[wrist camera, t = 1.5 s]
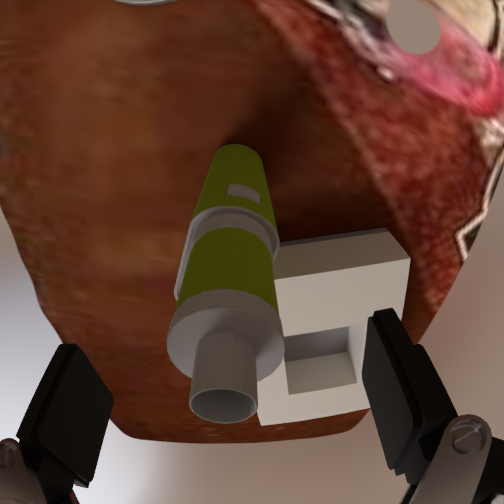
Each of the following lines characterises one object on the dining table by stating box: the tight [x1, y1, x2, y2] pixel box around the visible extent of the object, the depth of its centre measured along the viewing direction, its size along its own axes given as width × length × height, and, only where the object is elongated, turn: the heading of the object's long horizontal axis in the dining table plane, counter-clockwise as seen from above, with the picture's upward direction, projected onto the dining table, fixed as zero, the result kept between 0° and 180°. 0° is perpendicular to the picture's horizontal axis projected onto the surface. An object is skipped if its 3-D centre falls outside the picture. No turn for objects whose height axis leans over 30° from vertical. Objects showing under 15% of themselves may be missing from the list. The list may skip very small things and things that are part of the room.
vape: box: [167, 144, 285, 423], centre depth 16 cm, size 4×6×20 cm, turn 162°
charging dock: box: [257, 227, 411, 426], centre depth 30 cm, size 20×14×5 cm
